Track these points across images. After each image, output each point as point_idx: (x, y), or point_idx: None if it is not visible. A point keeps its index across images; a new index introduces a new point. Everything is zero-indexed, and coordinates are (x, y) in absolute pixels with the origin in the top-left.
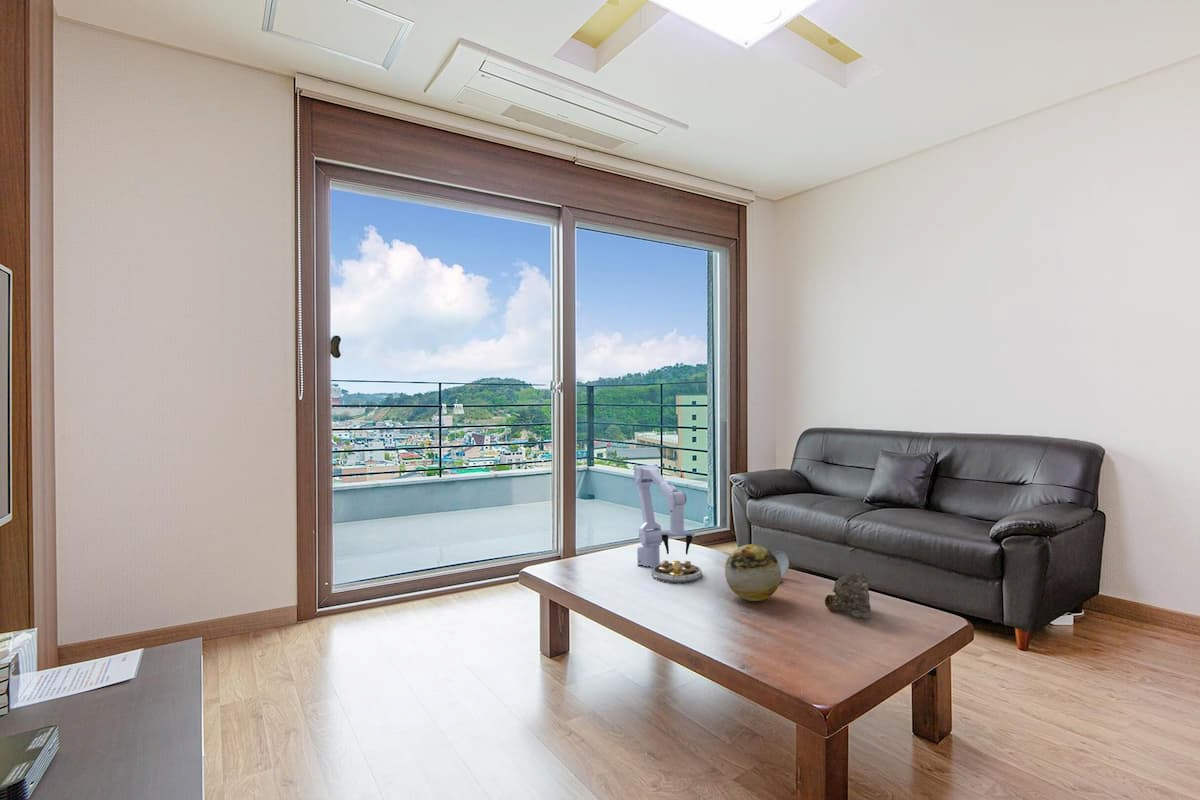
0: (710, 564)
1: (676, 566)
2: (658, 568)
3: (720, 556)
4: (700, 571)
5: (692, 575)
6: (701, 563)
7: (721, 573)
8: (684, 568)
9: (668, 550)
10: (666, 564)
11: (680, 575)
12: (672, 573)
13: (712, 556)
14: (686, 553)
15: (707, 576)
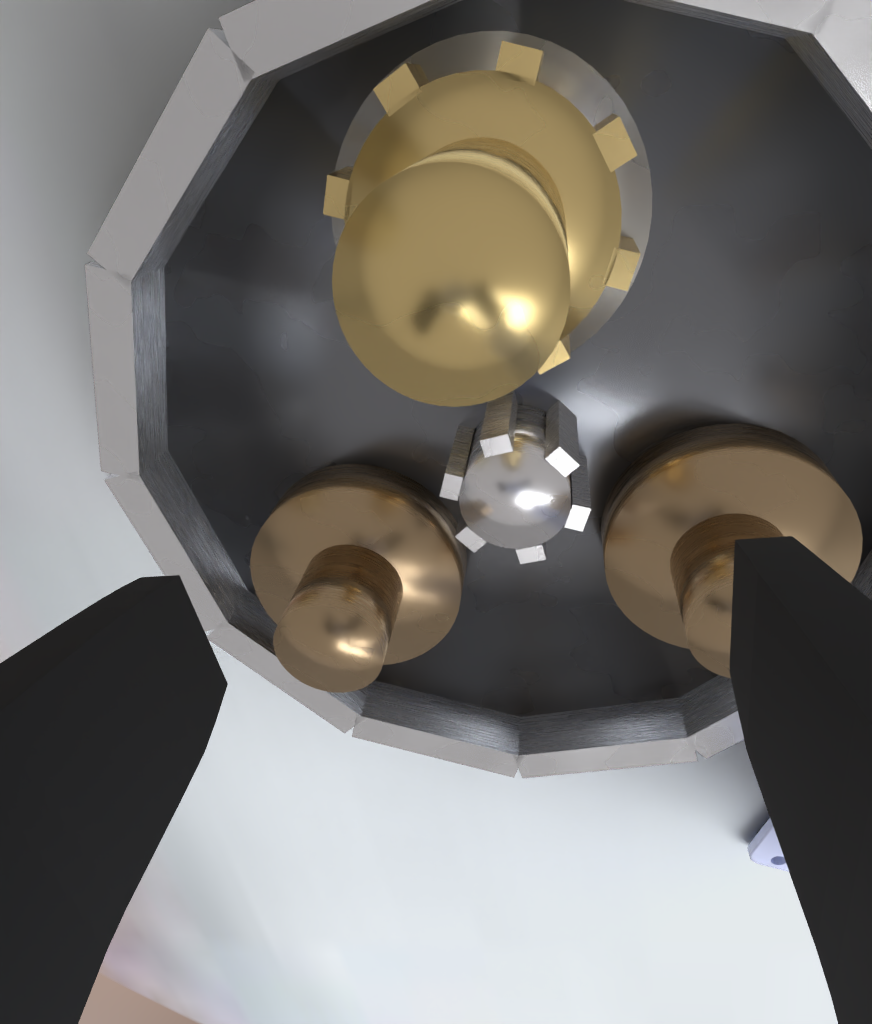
0: (237, 849)
1: (441, 154)
2: None
3: (232, 1000)
4: (103, 435)
5: (138, 158)
6: (328, 869)
7: (15, 616)
8: (394, 548)
9: (775, 616)
10: (725, 558)
11: (379, 123)
12: (563, 163)
13: (292, 1002)
14: (141, 588)
15: (106, 484)
